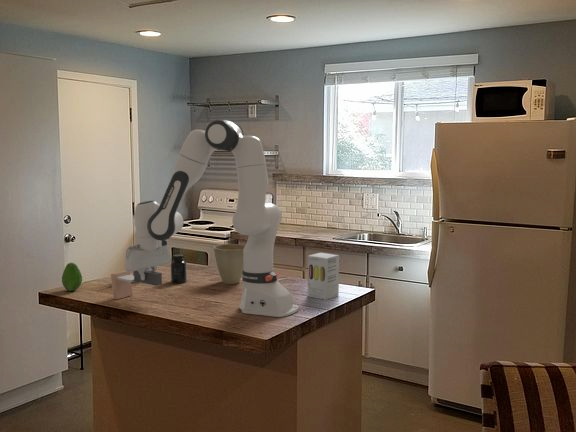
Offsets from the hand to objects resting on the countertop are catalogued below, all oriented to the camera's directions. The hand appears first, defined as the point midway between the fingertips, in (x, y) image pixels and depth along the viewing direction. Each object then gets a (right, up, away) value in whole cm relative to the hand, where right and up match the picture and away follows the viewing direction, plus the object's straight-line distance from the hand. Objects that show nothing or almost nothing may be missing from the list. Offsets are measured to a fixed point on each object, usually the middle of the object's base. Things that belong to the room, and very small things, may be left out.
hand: (147, 278), depth 228 cm
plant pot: (+29, -5, +35) cm, 45 cm away
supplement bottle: (+5, -5, +35) cm, 36 cm away
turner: (-3, -1, +2) cm, 4 cm away
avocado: (-36, -7, +19) cm, 41 cm away
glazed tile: (-12, -8, +9) cm, 17 cm away
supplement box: (+68, -8, +11) cm, 69 cm away
